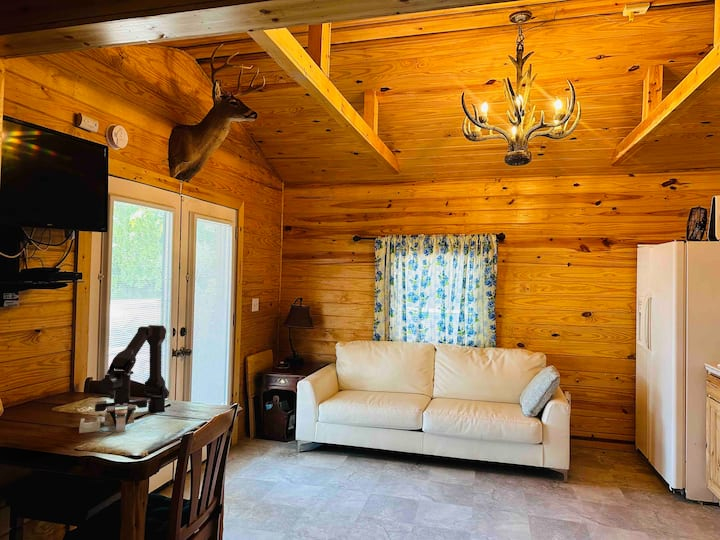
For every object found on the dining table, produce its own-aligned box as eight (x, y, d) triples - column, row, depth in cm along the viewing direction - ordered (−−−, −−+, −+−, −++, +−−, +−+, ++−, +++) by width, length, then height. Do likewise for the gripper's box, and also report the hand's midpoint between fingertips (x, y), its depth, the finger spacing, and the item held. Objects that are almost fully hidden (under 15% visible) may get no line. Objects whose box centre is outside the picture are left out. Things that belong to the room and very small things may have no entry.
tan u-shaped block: (133, 418, 206) (133, 407, 206) (134, 422, 200) (134, 411, 200) (104, 421, 201) (105, 410, 201) (104, 425, 195) (104, 414, 195)
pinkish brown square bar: (116, 419, 203) (116, 412, 203) (124, 418, 204) (125, 411, 205) (116, 432, 187) (116, 424, 187) (125, 431, 188) (125, 423, 188)
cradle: (100, 423, 197) (100, 416, 197) (99, 430, 188) (100, 423, 188) (81, 425, 194) (81, 418, 194) (79, 433, 185) (79, 425, 185)
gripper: (146, 381, 204) (144, 418, 203) (96, 384, 195) (95, 422, 195) (147, 387, 194) (146, 425, 193) (95, 390, 185) (93, 430, 185)
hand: (120, 425), depth 192 cm, fingers closed on pinkish brown square bar, 3 cm apart
